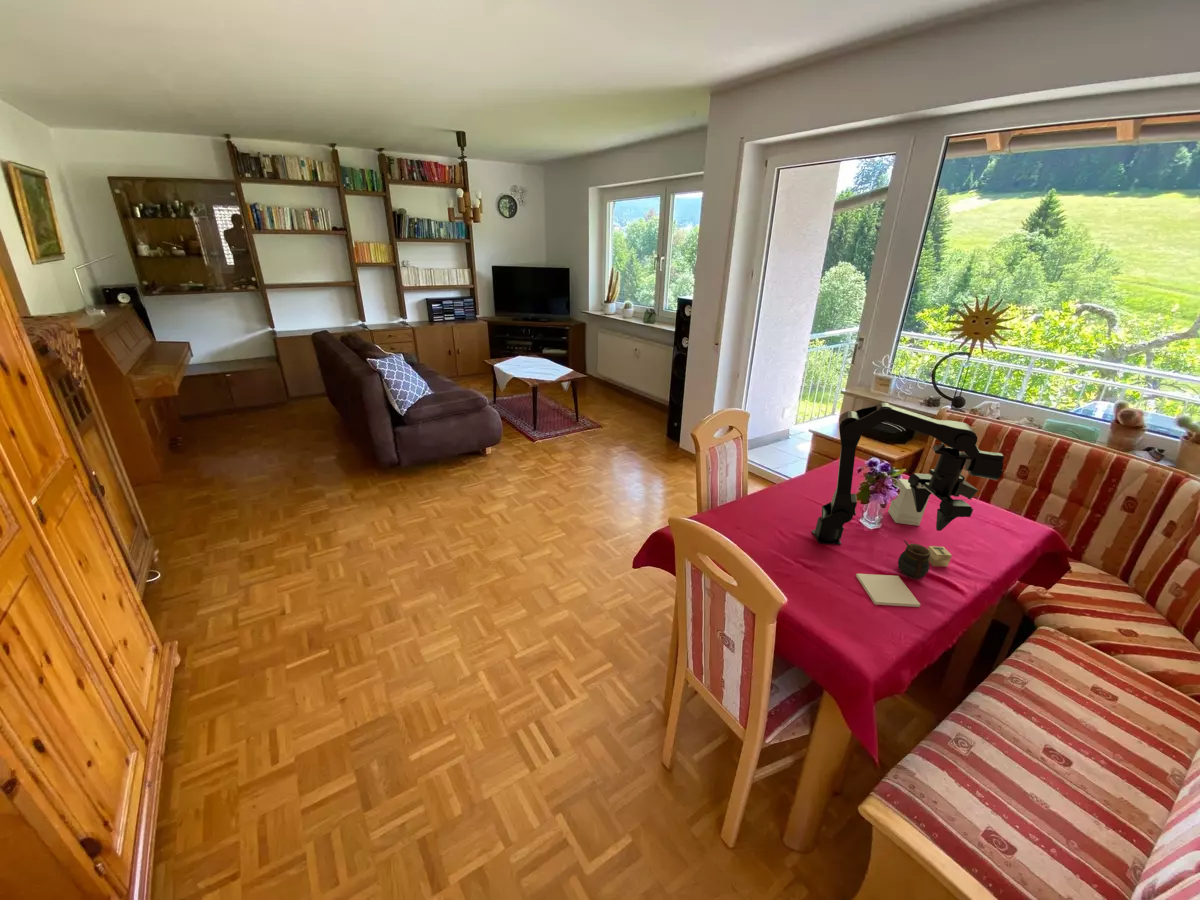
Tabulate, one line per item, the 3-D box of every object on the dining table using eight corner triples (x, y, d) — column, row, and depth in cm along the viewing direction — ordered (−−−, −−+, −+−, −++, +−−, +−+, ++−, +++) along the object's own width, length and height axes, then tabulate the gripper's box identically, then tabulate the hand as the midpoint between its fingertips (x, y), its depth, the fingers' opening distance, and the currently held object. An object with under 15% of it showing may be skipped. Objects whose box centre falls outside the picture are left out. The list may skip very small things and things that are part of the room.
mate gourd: (930, 583, 130) (942, 552, 126) (899, 580, 131) (910, 549, 127) (919, 566, 137) (929, 537, 132) (890, 563, 138) (899, 533, 134)
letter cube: (932, 566, 137) (937, 554, 136) (924, 557, 141) (929, 545, 139) (947, 566, 137) (952, 554, 135) (938, 558, 141) (943, 546, 139)
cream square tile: (874, 604, 122) (875, 601, 122) (855, 575, 132) (856, 573, 132) (919, 607, 122) (920, 604, 121) (897, 578, 132) (898, 575, 131)
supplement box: (919, 526, 156) (932, 491, 151) (894, 523, 157) (906, 488, 152) (911, 514, 163) (923, 480, 157) (887, 511, 164) (898, 477, 159)
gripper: (1004, 489, 120) (980, 542, 126) (955, 456, 137) (936, 504, 143) (959, 487, 120) (938, 540, 126) (915, 454, 137) (898, 502, 143)
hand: (928, 520), depth 135 cm, fingers open, 9 cm apart
